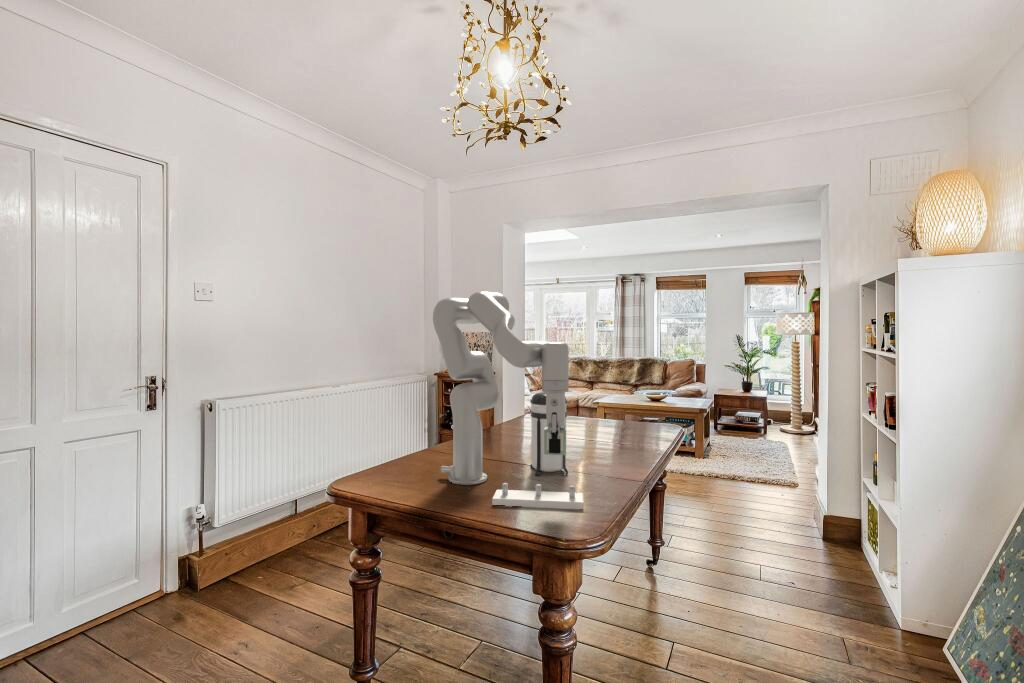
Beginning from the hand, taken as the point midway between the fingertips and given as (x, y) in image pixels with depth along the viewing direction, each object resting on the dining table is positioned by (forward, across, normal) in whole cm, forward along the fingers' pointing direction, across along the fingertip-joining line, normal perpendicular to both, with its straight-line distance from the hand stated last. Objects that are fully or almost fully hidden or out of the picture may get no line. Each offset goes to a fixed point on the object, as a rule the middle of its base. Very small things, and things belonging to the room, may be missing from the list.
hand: (555, 450), depth 140 cm
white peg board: (+15, 0, +5) cm, 16 cm away
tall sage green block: (+1, 0, 0) cm, 1 cm away
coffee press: (+15, +33, +4) cm, 37 cm away
